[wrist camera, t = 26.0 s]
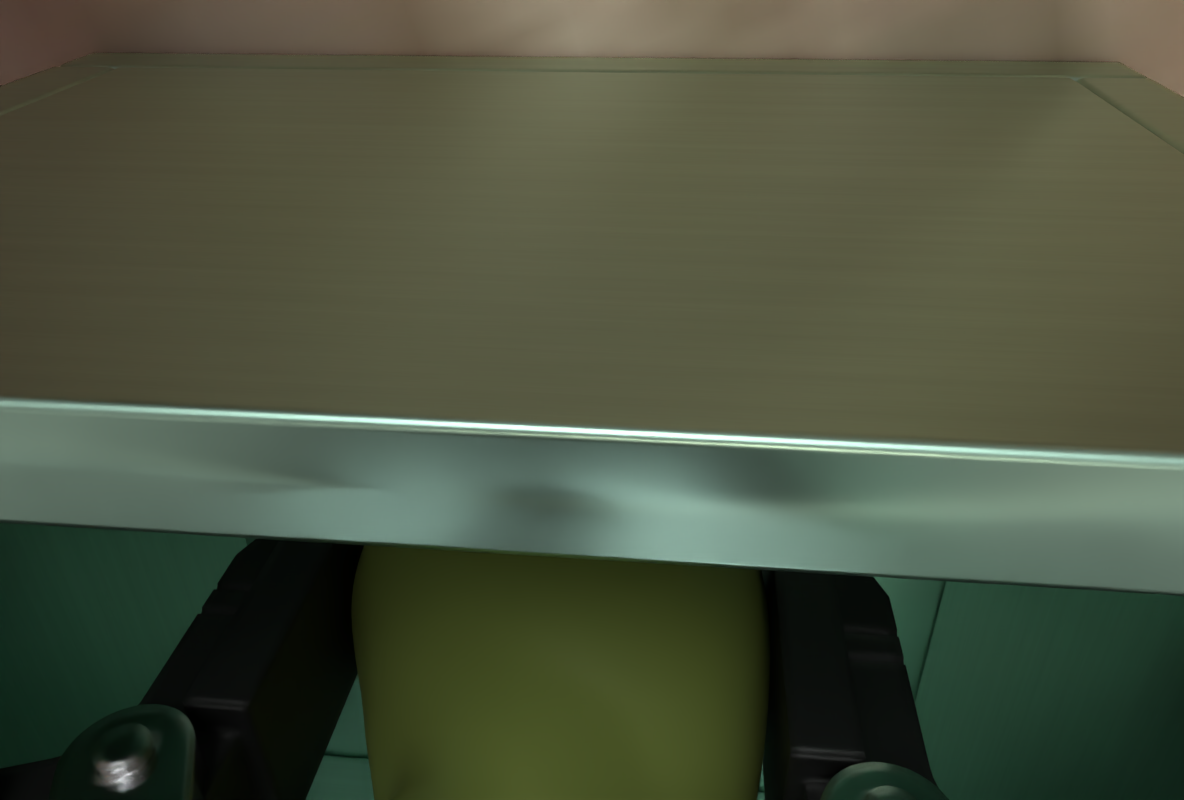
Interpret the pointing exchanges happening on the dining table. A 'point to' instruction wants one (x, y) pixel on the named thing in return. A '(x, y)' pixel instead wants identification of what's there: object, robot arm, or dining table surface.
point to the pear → (559, 677)
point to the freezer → (611, 362)
